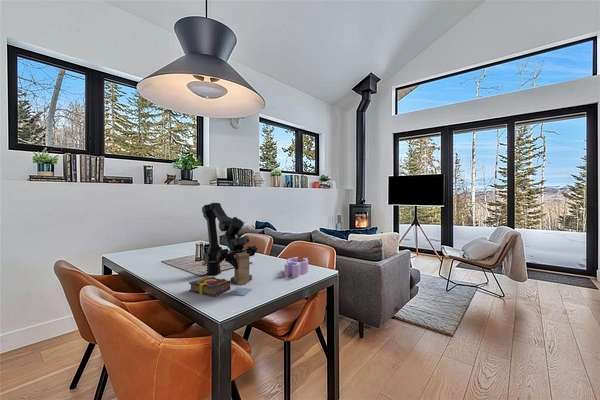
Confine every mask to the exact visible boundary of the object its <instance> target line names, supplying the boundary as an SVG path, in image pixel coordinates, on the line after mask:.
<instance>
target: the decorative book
mask: <svg viewBox="0 0 600 400" xmlns="http://www.w3.org/2000/svg"><path fill="white" fill-rule="evenodd" d="M188 285H190V289H188V292H191V293H197V294H199V295H201V296H202V295H206V296H209V297H212V298H216V297H219V295H220V294H223V293H224V292H227V291H229V290H231V280H228V279H227V280H226V278H216V277H215V276H204V277H202V278H199V279H197V280H191V281H189V282H188Z"/></svg>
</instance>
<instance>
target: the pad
mask: <svg viewBox="0 0 600 400" xmlns="http://www.w3.org/2000/svg"><path fill="white" fill-rule="evenodd" d="M251 291H253V288H248V287H239V286H237V287H235V288H234V289H232V290H231V291H229V292H227V293H228V295H232V296H241V297H245V296H246V295H248V294H249V293H251Z"/></svg>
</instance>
